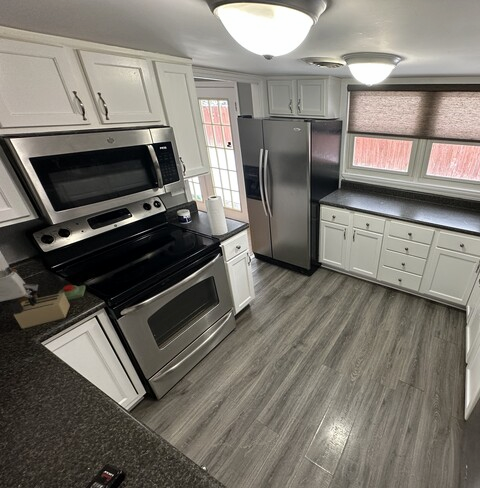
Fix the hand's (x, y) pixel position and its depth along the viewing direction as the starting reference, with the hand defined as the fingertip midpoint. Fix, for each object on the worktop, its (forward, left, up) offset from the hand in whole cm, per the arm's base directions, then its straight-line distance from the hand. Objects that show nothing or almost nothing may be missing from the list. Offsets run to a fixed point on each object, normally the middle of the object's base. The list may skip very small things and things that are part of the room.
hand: (18, 307), depth 110 cm
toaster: (+5, +3, -10) cm, 12 cm away
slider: (0, 0, -2) cm, 2 cm away
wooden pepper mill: (-6, +23, -10) cm, 26 cm away
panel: (+11, +18, -10) cm, 24 cm away
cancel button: (+11, +18, -6) cm, 23 cm away
